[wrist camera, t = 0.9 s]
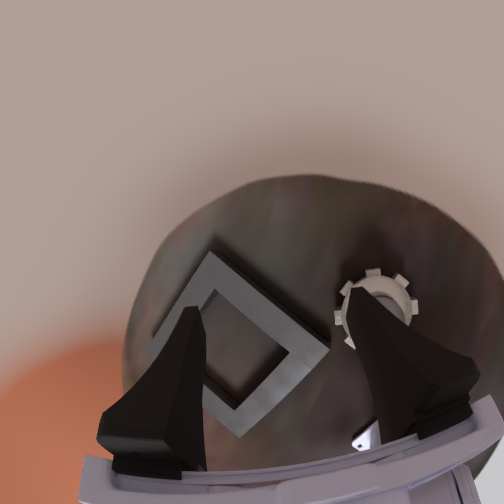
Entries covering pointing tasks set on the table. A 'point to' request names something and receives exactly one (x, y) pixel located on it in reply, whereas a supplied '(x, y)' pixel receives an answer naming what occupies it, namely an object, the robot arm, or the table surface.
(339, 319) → the planet gear
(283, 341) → the carrier plate
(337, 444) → the table surface
